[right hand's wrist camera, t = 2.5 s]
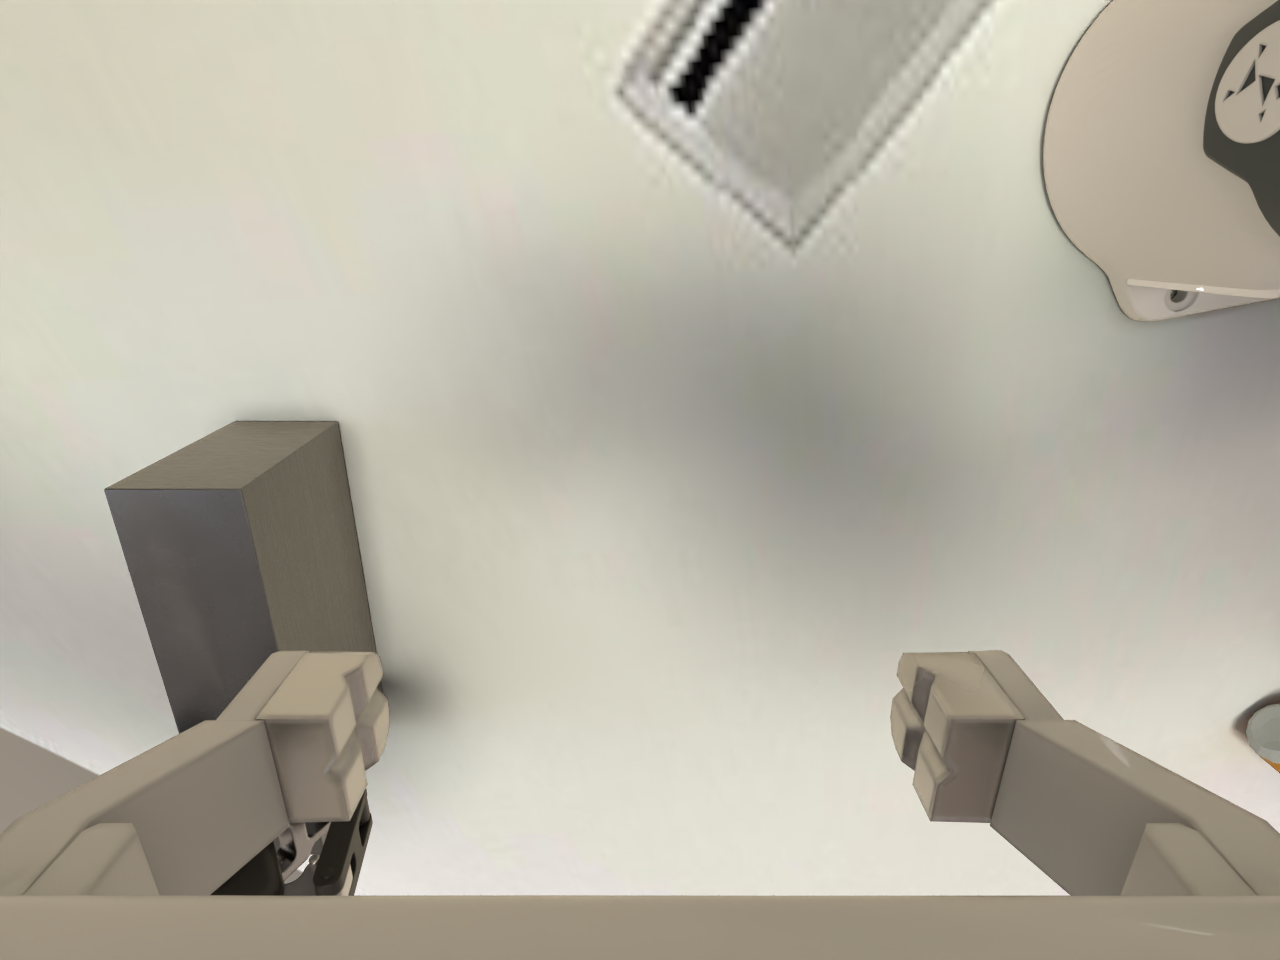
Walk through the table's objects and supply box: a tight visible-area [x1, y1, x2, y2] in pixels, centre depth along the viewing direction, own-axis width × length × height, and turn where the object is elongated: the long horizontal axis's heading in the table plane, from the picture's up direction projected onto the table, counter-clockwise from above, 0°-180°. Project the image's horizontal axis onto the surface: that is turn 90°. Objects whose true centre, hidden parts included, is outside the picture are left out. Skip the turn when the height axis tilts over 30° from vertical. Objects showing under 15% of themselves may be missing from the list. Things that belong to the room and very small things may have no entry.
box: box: [104, 421, 383, 854], centre depth 38 cm, size 22×6×10 cm, turn 0°
